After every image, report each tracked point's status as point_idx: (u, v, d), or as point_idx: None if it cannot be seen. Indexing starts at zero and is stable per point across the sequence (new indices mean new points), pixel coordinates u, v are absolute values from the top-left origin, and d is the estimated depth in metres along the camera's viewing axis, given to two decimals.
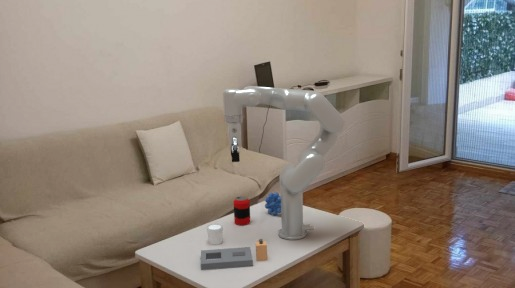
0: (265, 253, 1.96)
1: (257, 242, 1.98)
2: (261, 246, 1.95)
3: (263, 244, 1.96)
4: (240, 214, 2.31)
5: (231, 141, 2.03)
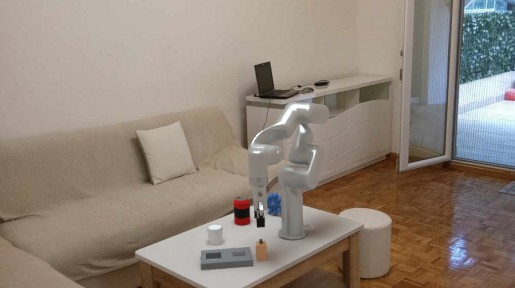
0: (265, 253, 1.96)
1: (257, 242, 1.98)
2: (261, 246, 1.95)
3: (263, 244, 1.96)
4: (240, 214, 2.31)
5: (256, 205, 1.88)
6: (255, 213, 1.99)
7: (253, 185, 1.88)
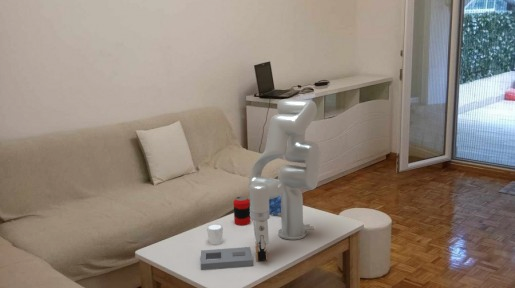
0: None
1: None
2: None
3: None
4: (240, 214, 2.31)
5: (258, 239, 1.91)
6: None
7: (255, 219, 1.92)
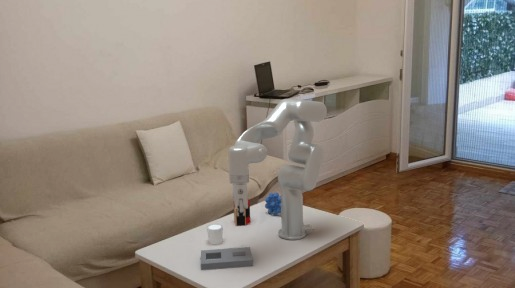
0: None
1: None
2: None
3: None
4: None
5: (237, 203, 1.87)
6: None
7: (234, 182, 1.87)
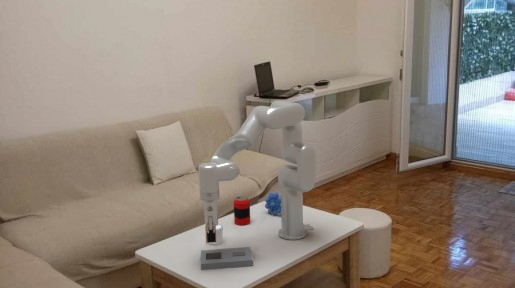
0: None
1: None
2: None
3: None
4: (240, 214, 2.31)
5: (206, 220, 1.88)
6: None
7: (203, 200, 1.88)
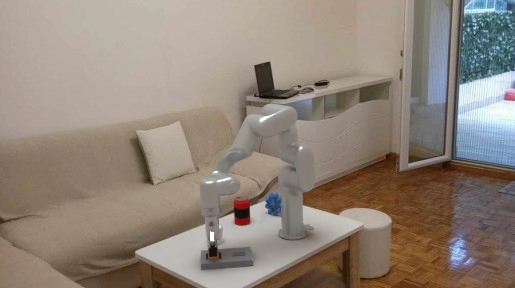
0: (217, 257, 1.95)
1: None
2: None
3: None
4: (240, 214, 2.31)
5: (208, 235, 1.89)
6: (210, 242, 1.99)
7: (205, 215, 1.89)
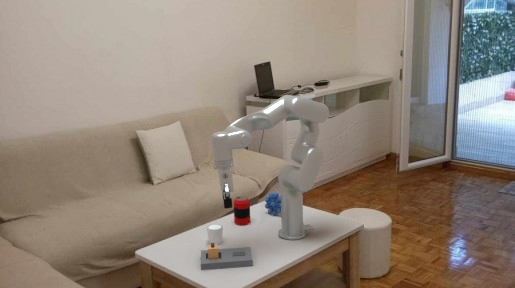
0: (217, 257, 1.95)
1: (209, 246, 1.96)
2: (212, 250, 1.94)
3: (214, 248, 1.95)
4: (240, 214, 2.31)
5: (222, 187, 1.93)
6: (223, 194, 2.04)
7: (218, 167, 1.93)
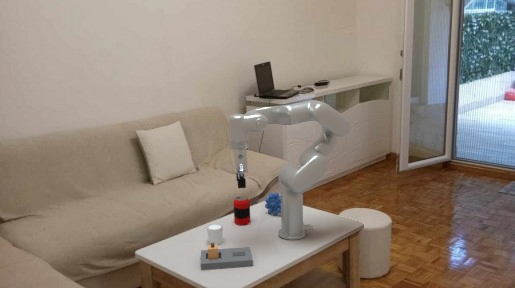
0: (217, 257, 1.95)
1: (209, 246, 1.96)
2: (212, 250, 1.94)
3: (214, 248, 1.95)
4: (240, 214, 2.31)
5: (237, 167, 2.01)
6: (237, 176, 2.12)
7: (234, 148, 2.01)
